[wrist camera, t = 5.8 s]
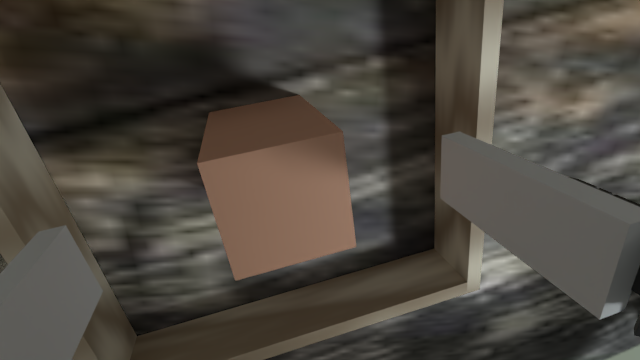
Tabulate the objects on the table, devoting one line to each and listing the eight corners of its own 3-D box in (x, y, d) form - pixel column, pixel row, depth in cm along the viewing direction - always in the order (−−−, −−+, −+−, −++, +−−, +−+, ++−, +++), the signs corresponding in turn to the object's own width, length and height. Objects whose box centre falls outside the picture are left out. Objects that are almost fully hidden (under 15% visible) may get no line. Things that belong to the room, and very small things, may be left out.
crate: (445, 255, 26) (479, 289, 23) (127, 351, 22) (108, 410, 19) (455, -137, 16) (519, -186, 13) (-127, -90, 12) (-272, -142, 9)
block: (312, 174, 21) (356, 246, 14) (232, 193, 20) (235, 280, 13) (299, 94, 19) (342, 131, 12) (209, 112, 18) (196, 163, 11)
